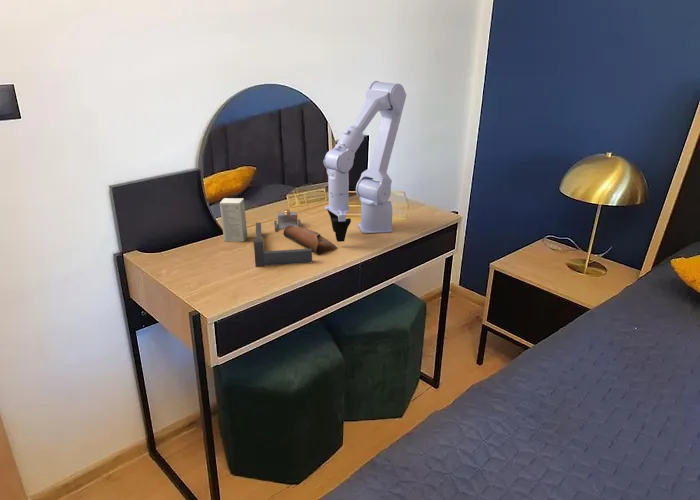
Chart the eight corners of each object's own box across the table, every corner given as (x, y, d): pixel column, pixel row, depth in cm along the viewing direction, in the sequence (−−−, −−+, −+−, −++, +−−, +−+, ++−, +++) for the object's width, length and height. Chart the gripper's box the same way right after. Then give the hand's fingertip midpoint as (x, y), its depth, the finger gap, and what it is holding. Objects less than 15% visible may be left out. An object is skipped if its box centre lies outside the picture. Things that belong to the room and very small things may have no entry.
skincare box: (247, 236, 171) (244, 198, 166) (243, 242, 167) (240, 203, 162) (227, 235, 172) (223, 197, 167) (222, 241, 168) (219, 202, 163)
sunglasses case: (341, 248, 163) (331, 232, 159) (324, 264, 161) (313, 249, 157) (306, 230, 176) (296, 214, 172) (290, 245, 174) (279, 230, 170)
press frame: (303, 222, 182) (302, 202, 179) (312, 263, 154) (311, 239, 151) (254, 225, 180) (253, 204, 177) (255, 266, 151) (253, 242, 149)
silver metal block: (297, 224, 180) (296, 208, 178) (297, 227, 177) (297, 211, 175) (278, 225, 179) (277, 209, 177) (278, 228, 177) (277, 212, 174)
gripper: (321, 185, 168) (322, 228, 173) (327, 200, 155) (328, 246, 160) (345, 184, 169) (345, 226, 174) (353, 199, 156) (352, 245, 161)
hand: (338, 236), depth 167 cm, fingers open, 7 cm apart
